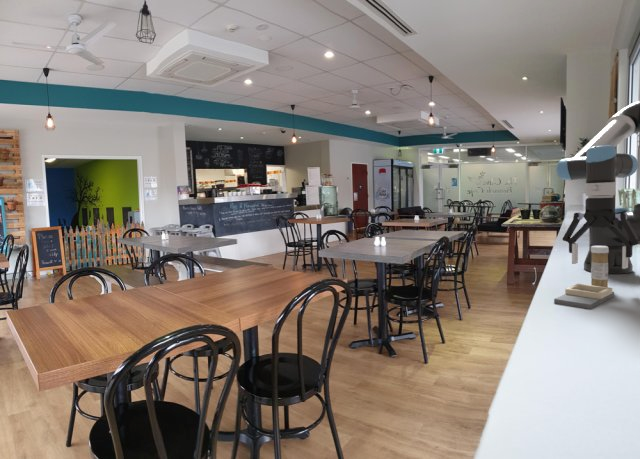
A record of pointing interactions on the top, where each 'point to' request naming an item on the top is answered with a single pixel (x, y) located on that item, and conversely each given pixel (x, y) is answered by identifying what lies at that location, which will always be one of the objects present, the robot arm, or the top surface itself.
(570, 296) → the slate base board
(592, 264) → the sprinkles bottle
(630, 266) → the robot arm
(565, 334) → the top surface
